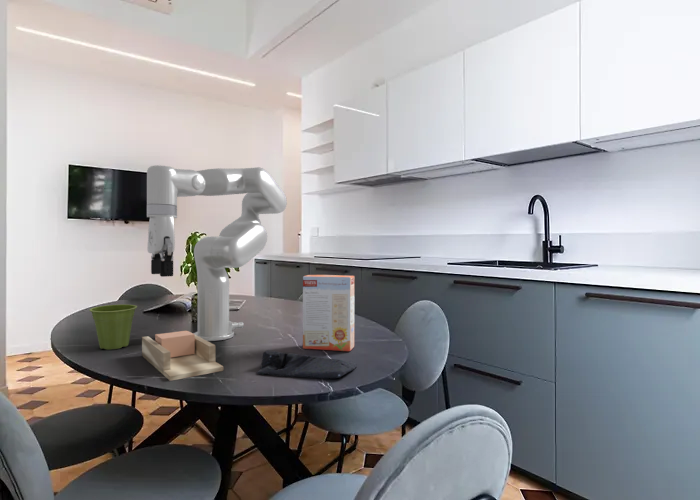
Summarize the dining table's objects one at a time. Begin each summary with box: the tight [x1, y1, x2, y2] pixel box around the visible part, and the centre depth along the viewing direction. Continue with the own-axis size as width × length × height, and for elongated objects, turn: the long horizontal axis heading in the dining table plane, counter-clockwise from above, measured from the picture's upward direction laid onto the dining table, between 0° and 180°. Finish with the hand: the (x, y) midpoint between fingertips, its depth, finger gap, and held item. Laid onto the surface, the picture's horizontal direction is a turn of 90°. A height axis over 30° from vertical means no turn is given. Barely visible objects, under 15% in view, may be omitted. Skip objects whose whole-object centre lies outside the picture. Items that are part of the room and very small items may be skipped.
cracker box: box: [302, 274, 355, 352], centre depth 121 cm, size 14×6×21 cm, turn 77°
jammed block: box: [154, 330, 195, 358], centre depth 109 cm, size 8×6×5 cm
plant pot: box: [89, 303, 138, 351], centre depth 121 cm, size 12×12×11 cm
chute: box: [141, 335, 224, 382], centre depth 106 cm, size 12×25×5 cm, turn 39°
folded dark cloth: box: [256, 350, 357, 380], centre depth 101 cm, size 15×22×5 cm
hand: (161, 275), depth 115 cm, fingers open, 9 cm apart
